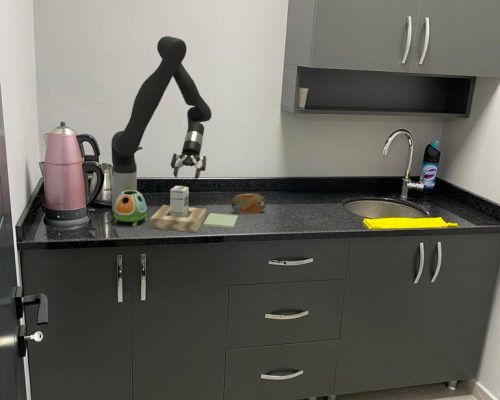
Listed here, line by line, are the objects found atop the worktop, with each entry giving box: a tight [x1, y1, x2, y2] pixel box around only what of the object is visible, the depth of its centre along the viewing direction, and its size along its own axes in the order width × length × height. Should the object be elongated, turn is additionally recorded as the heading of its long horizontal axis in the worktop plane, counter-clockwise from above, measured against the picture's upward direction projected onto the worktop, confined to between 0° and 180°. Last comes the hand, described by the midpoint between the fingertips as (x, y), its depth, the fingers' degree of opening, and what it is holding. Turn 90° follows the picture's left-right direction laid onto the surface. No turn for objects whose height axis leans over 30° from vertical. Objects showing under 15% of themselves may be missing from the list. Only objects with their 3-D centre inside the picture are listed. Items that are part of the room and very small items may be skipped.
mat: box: [202, 212, 239, 230], centre depth 204 cm, size 12×14×1 cm
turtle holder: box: [113, 190, 148, 227], centre depth 199 cm, size 12×18×12 cm
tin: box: [230, 193, 267, 215], centre depth 217 cm, size 15×3×8 cm, turn 105°
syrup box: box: [169, 185, 190, 218], centre depth 198 cm, size 6×6×14 cm
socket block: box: [149, 204, 207, 233], centre depth 199 cm, size 18×18×4 cm
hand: (185, 177), depth 204 cm, fingers open, 8 cm apart
